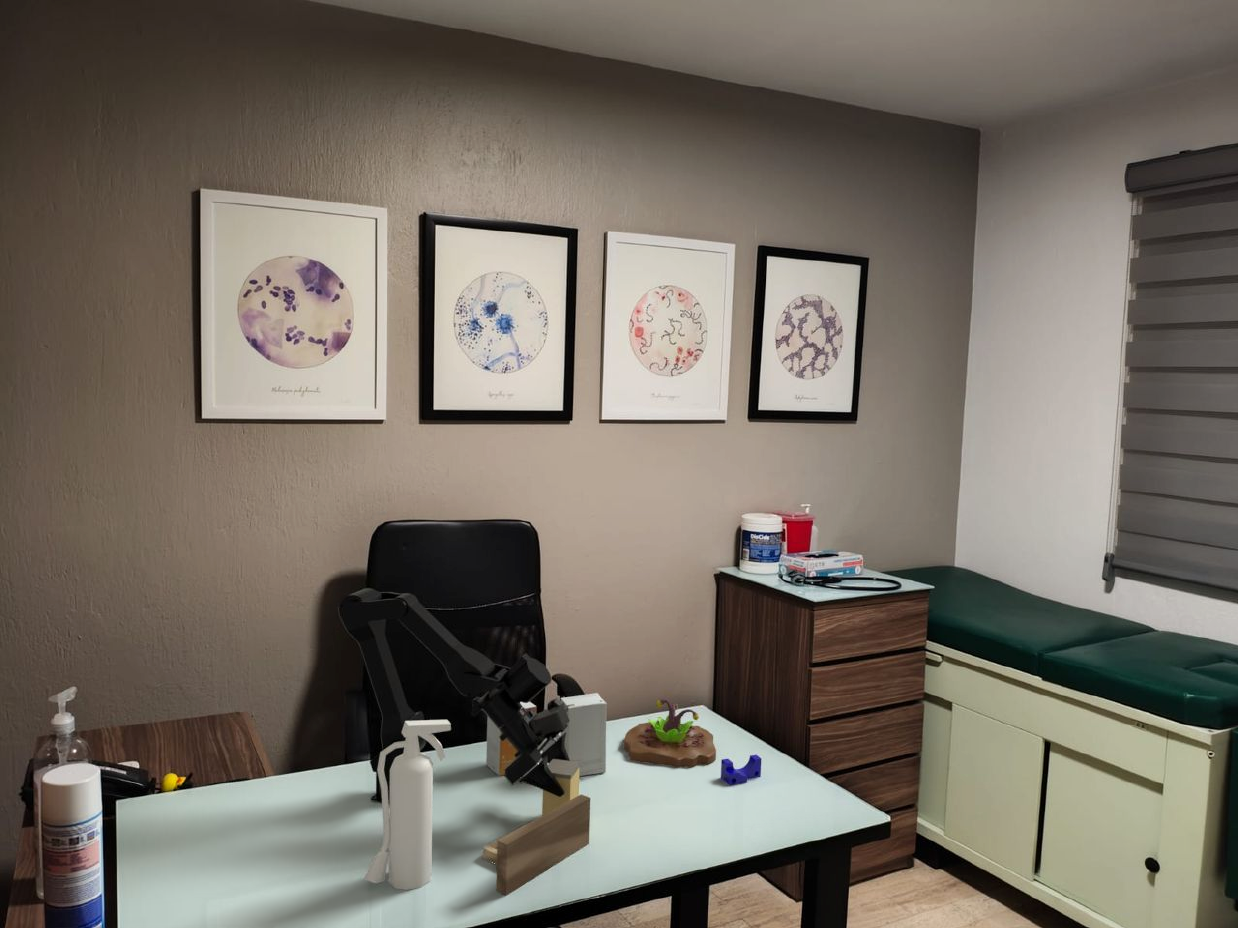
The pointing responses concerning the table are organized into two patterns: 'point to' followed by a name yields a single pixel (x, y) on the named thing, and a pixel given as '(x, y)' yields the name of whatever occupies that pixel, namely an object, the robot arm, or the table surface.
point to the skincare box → (586, 732)
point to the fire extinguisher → (408, 809)
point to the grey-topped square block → (562, 784)
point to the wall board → (540, 844)
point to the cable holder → (740, 770)
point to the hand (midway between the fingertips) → (568, 786)
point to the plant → (670, 741)
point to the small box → (500, 746)
